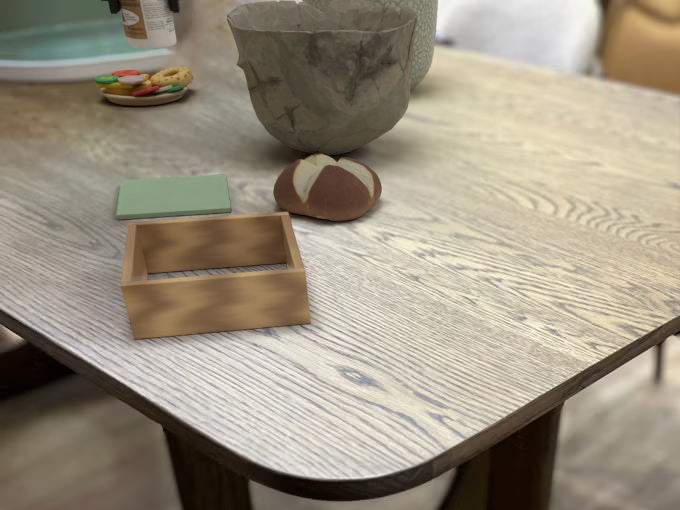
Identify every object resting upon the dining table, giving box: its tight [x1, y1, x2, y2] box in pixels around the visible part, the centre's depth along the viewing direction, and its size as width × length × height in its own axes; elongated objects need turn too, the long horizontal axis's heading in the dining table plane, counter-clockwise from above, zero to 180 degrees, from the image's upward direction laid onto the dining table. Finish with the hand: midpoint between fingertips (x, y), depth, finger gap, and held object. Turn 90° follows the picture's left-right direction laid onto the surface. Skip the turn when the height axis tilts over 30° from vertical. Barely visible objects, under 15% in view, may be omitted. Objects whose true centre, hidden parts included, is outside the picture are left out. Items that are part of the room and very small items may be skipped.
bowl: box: [226, 0, 418, 156], centre depth 104 cm, size 22×22×15 cm
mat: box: [115, 173, 232, 221], centre depth 95 cm, size 12×12×1 cm
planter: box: [302, 0, 439, 92], centre depth 127 cm, size 21×21×19 cm
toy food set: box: [94, 65, 195, 107], centre depth 127 cm, size 13×13×3 cm
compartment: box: [120, 211, 312, 340], centre depth 74 cm, size 15×15×4 cm
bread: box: [272, 153, 383, 222], centre depth 92 cm, size 11×11×5 cm
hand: (145, 8), depth 75 cm, fingers closed on pill bottle, 4 cm apart
